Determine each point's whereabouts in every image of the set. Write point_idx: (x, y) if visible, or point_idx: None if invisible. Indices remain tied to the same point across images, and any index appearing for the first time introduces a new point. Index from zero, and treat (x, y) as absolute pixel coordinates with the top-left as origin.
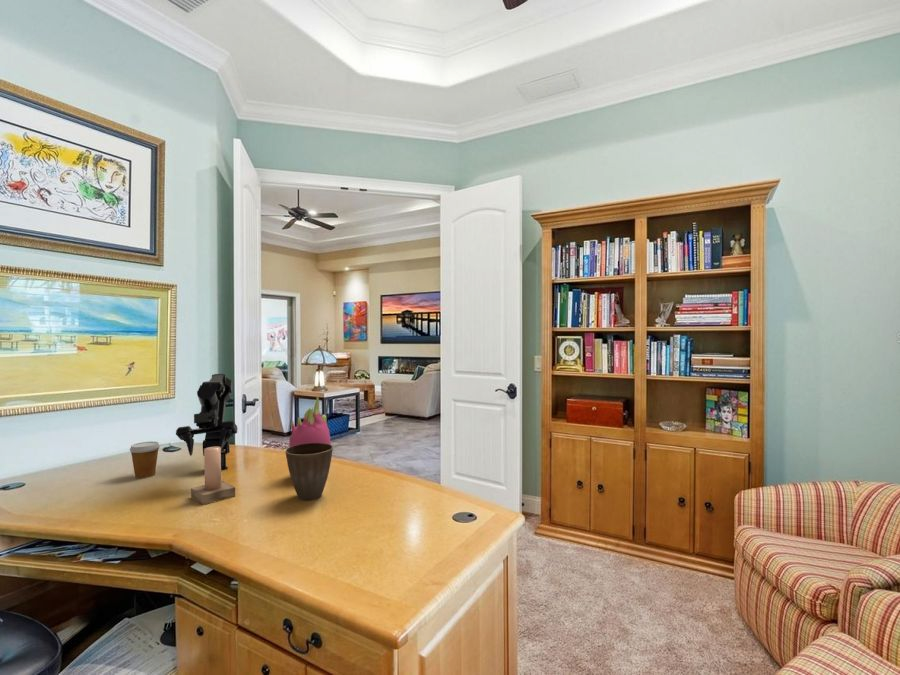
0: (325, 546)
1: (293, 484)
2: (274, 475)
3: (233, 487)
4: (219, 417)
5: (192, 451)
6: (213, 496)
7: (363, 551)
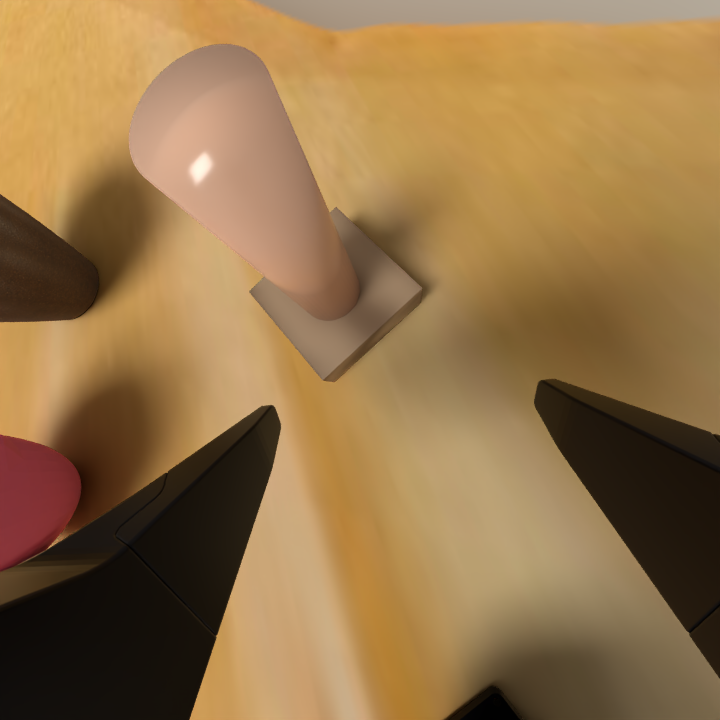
0: (56, 47)
1: (48, 236)
2: None
3: (253, 288)
4: None
5: (562, 444)
6: None
7: (11, 42)
